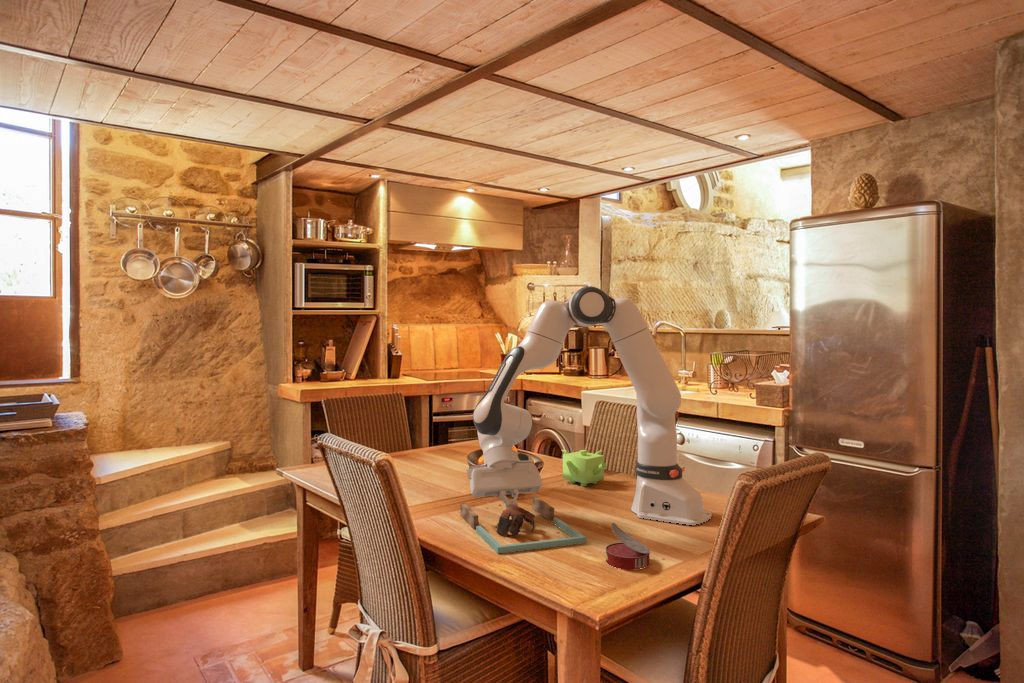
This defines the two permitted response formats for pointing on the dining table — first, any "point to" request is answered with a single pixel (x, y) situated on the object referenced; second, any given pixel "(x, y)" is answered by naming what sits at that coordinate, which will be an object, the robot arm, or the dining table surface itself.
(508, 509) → the dark brown curved piece
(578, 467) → the green knobbed block
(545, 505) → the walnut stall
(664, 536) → the dining table surface
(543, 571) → the dining table surface
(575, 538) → the teal frame
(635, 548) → the canned food
